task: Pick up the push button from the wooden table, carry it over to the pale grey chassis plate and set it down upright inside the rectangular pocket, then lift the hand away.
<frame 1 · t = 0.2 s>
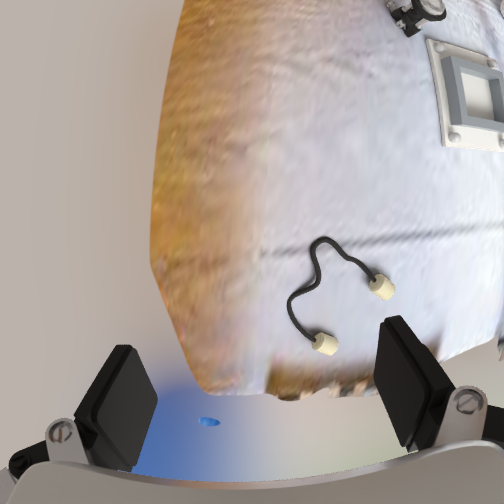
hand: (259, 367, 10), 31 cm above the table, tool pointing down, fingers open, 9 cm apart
cable: (329, 298, 45), on the table
chassis: (470, 97, 32), on the table
push button: (399, 21, 29), on the table
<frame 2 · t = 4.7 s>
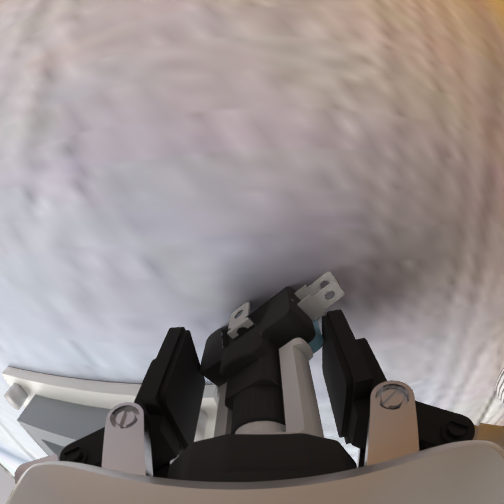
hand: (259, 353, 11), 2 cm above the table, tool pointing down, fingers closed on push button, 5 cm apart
chassis: (129, 448, 18), on the table
push button: (272, 316, 13), on the table, touching gripper
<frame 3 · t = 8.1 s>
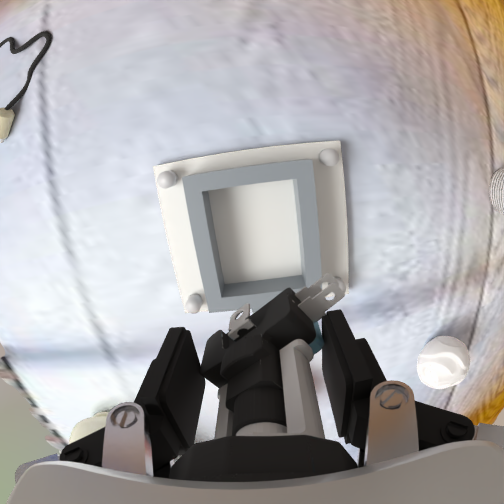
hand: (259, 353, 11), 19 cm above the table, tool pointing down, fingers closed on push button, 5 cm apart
cable: (4, 77, 23), on the table
kettle: (135, 436, 42), on the table
white rounded piece: (431, 346, 34), on the table
chassis: (256, 230, 29), on the table
cup: (500, 190, 27), on the table
push button: (272, 317, 13), point 17 cm above the table, touching gripper
when the fingers open (5 cm above the table, at t = 11.6 s): push button drops 2 cm, resting on chassis.
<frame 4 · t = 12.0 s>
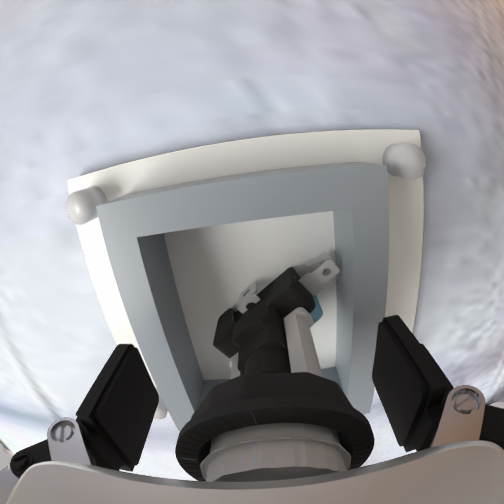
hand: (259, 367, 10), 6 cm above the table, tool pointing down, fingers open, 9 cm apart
chassis: (258, 295, 16), on the table
push button: (277, 295, 15), point 1 cm above the table, touching chassis
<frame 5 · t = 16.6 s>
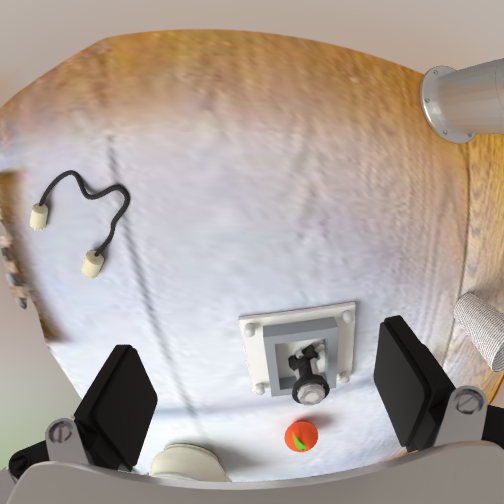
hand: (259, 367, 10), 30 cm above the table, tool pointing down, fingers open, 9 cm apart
cable: (78, 212, 40), on the table
kettle: (197, 457, 59), on the table
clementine: (298, 422, 53), on the table
chassis: (300, 350, 46), on the table
cup: (463, 305, 44), on the table
push button: (306, 351, 45), point 1 cm above the table, touching chassis
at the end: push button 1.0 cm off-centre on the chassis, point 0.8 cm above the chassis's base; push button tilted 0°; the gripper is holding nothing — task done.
